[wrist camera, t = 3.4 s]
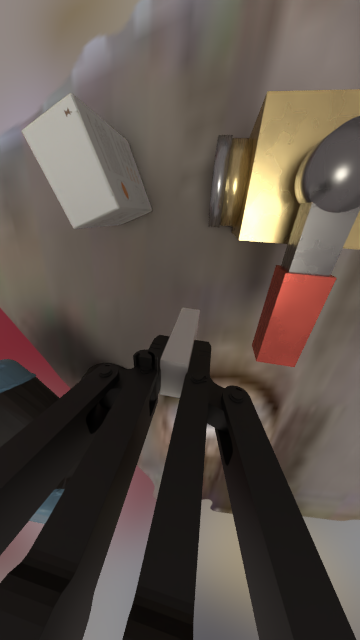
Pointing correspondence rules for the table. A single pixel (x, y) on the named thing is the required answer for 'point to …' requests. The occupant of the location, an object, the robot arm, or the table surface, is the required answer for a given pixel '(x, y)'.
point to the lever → (311, 245)
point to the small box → (87, 165)
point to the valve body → (281, 162)
